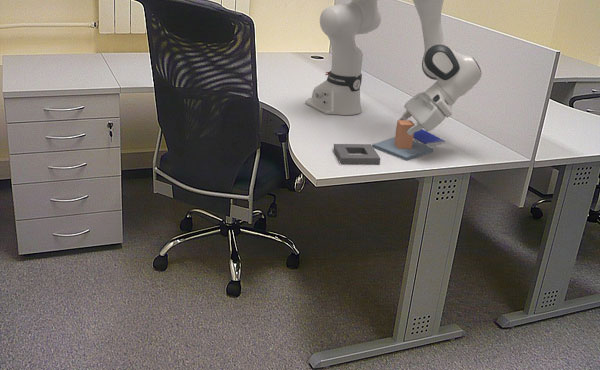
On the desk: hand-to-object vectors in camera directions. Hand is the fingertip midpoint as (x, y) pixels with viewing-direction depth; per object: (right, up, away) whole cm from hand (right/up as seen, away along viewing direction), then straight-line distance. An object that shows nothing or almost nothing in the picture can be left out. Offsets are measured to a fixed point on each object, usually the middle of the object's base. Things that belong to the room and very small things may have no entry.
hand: (403, 128), depth 207 cm
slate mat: (0, -6, +3) cm, 7 cm away
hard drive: (+9, -3, +14) cm, 17 cm away
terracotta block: (0, -6, +3) cm, 6 cm away
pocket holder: (-16, -9, -6) cm, 19 cm away
